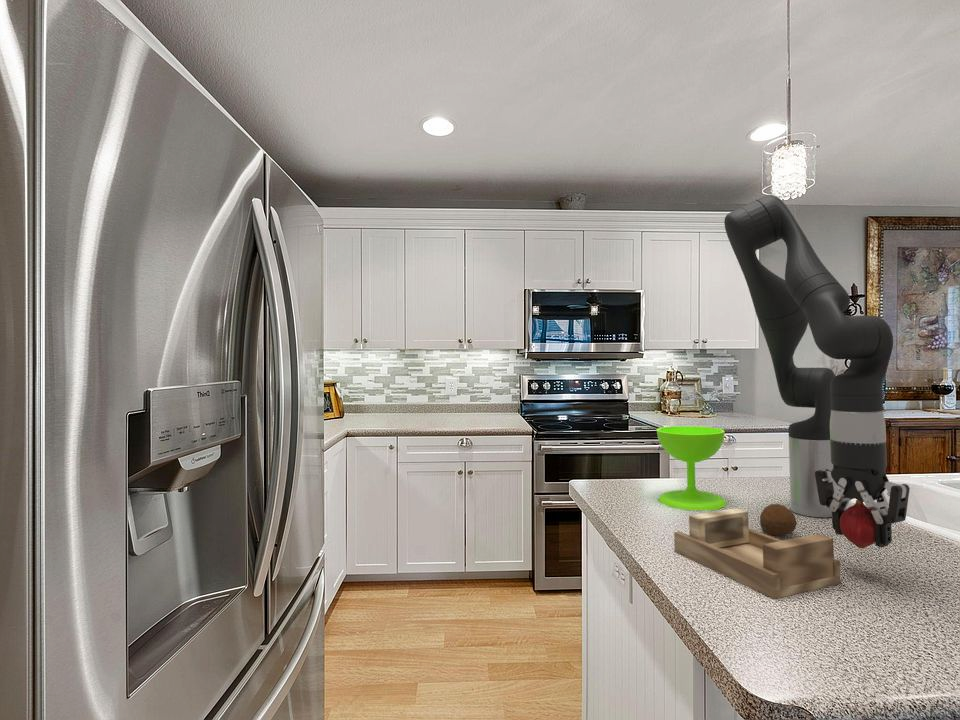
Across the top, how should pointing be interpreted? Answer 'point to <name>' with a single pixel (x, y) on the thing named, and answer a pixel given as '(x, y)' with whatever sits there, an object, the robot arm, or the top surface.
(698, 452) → the wineglass
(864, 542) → the onion
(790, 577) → the vise base
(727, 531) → the jaw
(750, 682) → the top surface
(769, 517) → the potato
